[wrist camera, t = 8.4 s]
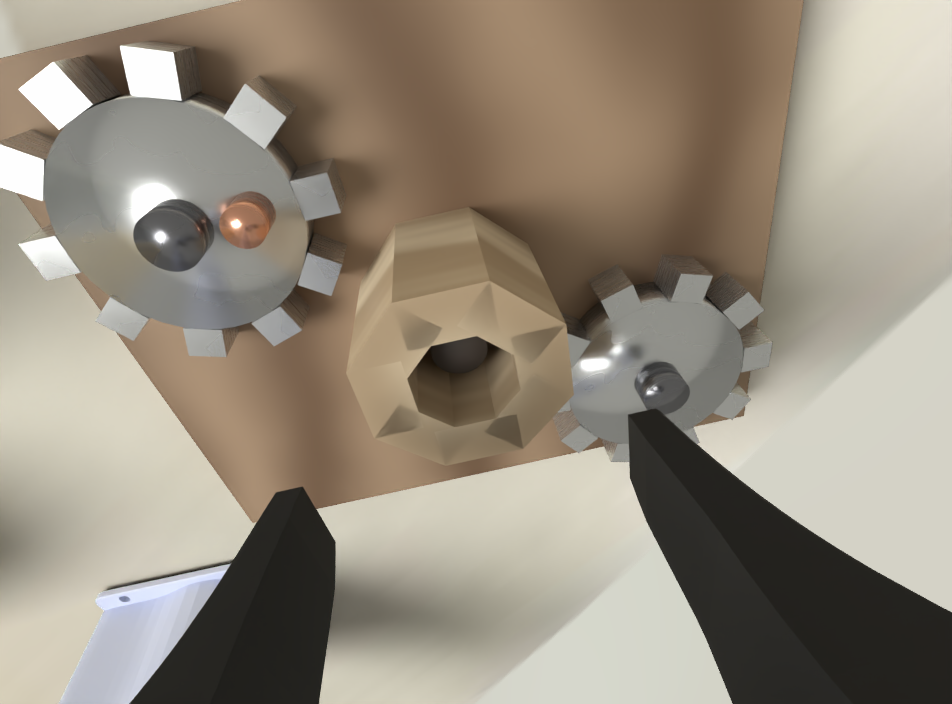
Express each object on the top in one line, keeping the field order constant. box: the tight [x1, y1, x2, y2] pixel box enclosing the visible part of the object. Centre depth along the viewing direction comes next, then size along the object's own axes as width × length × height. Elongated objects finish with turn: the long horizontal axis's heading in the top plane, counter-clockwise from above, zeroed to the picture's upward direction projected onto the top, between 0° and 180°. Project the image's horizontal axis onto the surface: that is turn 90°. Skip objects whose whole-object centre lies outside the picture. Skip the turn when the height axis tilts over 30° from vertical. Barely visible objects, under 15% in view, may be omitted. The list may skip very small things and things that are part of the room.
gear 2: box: [553, 254, 773, 462], centre depth 19 cm, size 8×8×2 cm
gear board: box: [0, 0, 804, 523], centre depth 17 cm, size 22×18×5 cm
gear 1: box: [0, 41, 347, 357], centre depth 14 cm, size 8×8×3 cm
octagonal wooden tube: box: [346, 207, 574, 466], centre depth 16 cm, size 6×6×5 cm
